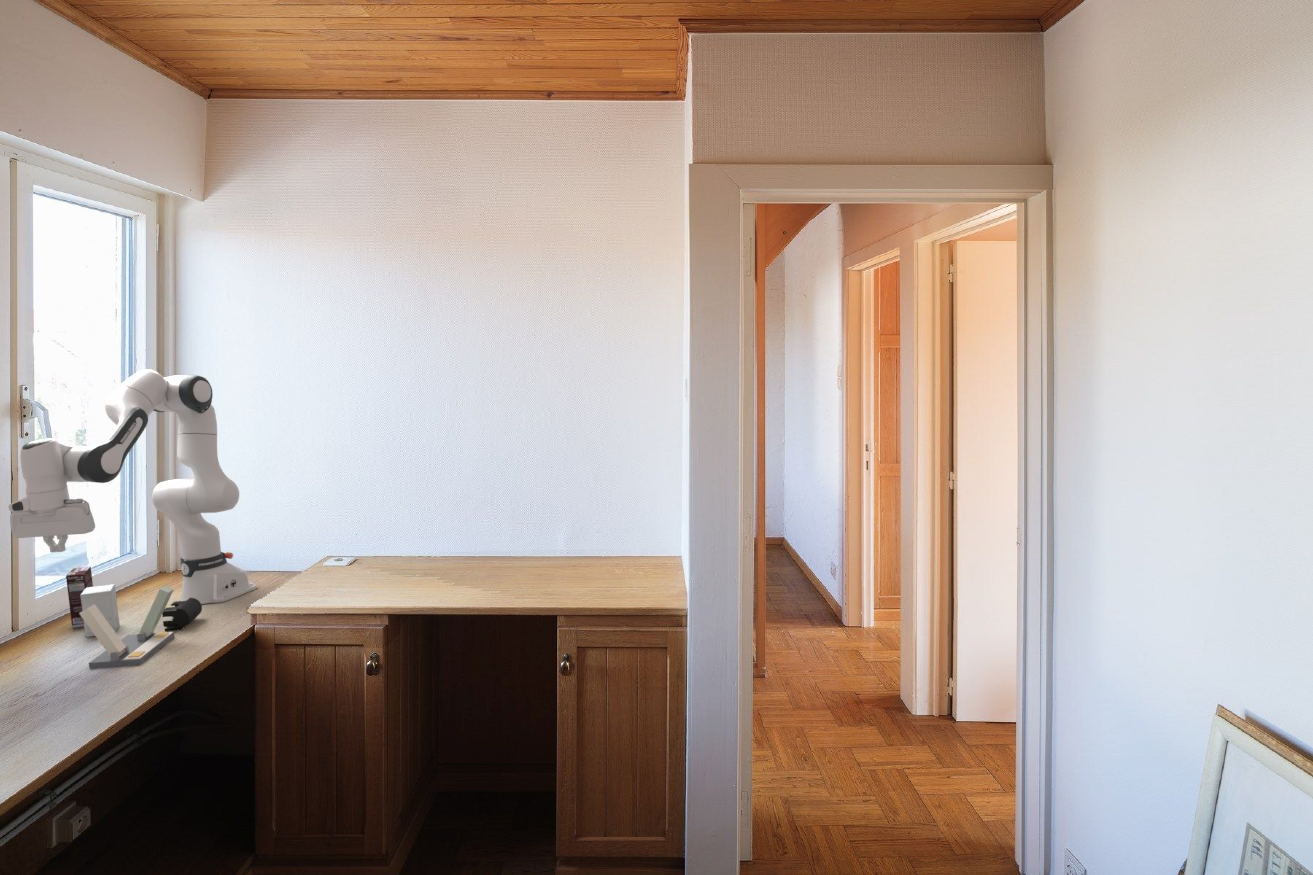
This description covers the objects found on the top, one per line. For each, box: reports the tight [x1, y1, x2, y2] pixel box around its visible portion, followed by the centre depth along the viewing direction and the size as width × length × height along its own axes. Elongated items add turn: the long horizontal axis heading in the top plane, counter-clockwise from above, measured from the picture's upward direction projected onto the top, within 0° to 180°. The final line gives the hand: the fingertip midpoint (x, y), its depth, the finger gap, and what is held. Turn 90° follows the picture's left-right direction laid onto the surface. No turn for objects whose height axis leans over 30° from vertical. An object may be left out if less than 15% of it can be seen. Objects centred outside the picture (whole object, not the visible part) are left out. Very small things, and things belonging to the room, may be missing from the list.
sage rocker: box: [138, 585, 175, 637], centre depth 224 cm, size 2×4×15 cm, turn 8°
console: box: [88, 631, 175, 670], centre depth 218 cm, size 12×20×4 cm, turn 8°
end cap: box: [161, 598, 203, 632], centre depth 238 cm, size 10×7×7 cm
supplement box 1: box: [65, 566, 94, 629], centre depth 242 cm, size 9×5×16 cm, turn 23°
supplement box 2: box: [80, 583, 121, 638], centre depth 234 cm, size 7×7×13 cm
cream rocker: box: [79, 604, 126, 656], centre depth 210 cm, size 2×4×15 cm
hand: (58, 551), depth 217 cm, fingers closed
